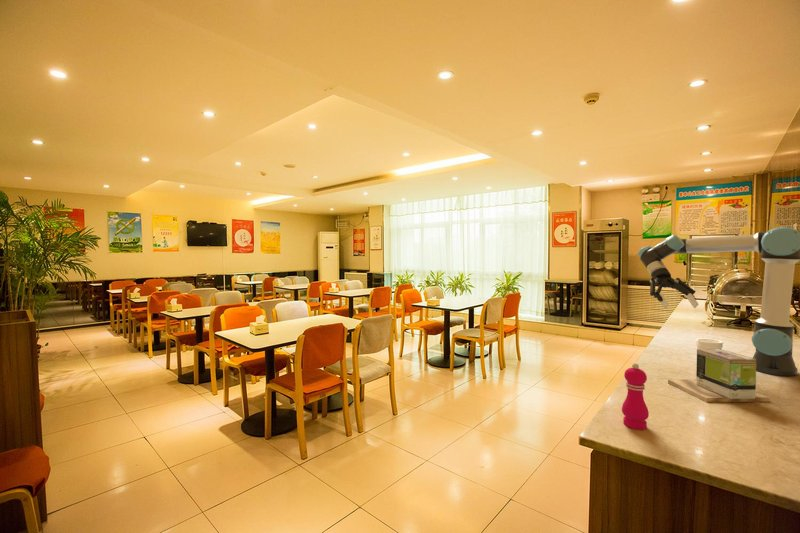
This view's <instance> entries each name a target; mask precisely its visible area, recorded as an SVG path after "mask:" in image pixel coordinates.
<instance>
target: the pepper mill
mask: <svg viewBox="0 0 800 533" xmlns="http://www.w3.org/2000/svg"><path fill="white" fill-rule="evenodd" d="M623 377H624V379H625V380H626V382H625V384H626V385H625V386H626V388H627V394H626V397H625V399H624V401H623V403H622V406H621V412H622V414H623V425H625V426H626V427H627V426H628V428H630V429H632V430H638V431H641V430H642V431H643V430H644V431H645V430H646V429H647V427H648V422H647V419H648V418H649V417H650V414H649V413H650V412H649V409H648V406H647V404H646V402H645V399H644V391H645V383H646V382H647V380H648V378H647V374H646V372H645V371H644V370H643V369H641V368H640V365H639V364H638V363H636V362H635V363H633V364H632V366H631V367H629V368H627V369H625V371H624V376H623Z"/></svg>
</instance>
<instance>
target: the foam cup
mask: <svg viewBox="0 0 800 533" xmlns="http://www.w3.org/2000/svg"><path fill="white" fill-rule="evenodd" d="M695 340H696V348H697V349H722V350H723V348H724V347H723V340H719V339H714V338H708V337H707V338H704V337H702V338H699V337H697V338H696V339H695ZM697 349H696V350H697Z"/></svg>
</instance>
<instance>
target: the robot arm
mask: <svg viewBox="0 0 800 533" xmlns="http://www.w3.org/2000/svg"><path fill="white" fill-rule="evenodd" d="M728 252H729V253H731V252H732V253H734V252H757V253H758V254H760V255H761V256H760V260H762V261H763V262H764V263H765V264H764V273H763V282H762V283H763V285H762V292H761V293H762V294H761V295H762V296H761V304H760V305H761V306H760V315H759V317H758V318H757V319H755V320H754V326H753V327H754V328H753V335H752V336H751V342H752V345H753V346H754V348H755V352H754V354H753V357H752V358H754V359H756V372H760V373H764V374H768V375H776V376H783V377H796V376H798V373H799V370H798V367H797V366H796V362H795V361H794V358H793V349H794V348H793V345H794V344H793V342H794V340H793V339H794V330H795V329H794V326H795V324H793V323H792V322H790V315H791V314H790V312H791V307H792V306H791V304H792V303H791V302H792V294H793V286H794V285H793V284H794V276H795V268H796V267H795V266H796V264H797V263H799V262H800V231H799V230H797V229H795V228H793V227H789V226H781V227H780V226H779V227H773V228H772V229H769V230H768V231H758V232H755V234H746V235H745V234H744V235H730V236H729V235H728V236H726V235H725V236H712V237H710V236H708V237H694V238H680V237H679V236H678V235H677V234H672V235H670V236H668V237H666V238H665V239H664V240H662V241H660V242H659V243H657V244H656V245H654V246H649V245H647V246H644V247H641V248H640V249H639V250H638V253H637V255H638V257H639V260H640V261H641V263H642V264H643V266H644V267H645V269H646V270H647V273H649V275H650V277H651V278H650V280H649V281H648V282H649V285H650V287H649V296H651V297H653V298H655V299H657V301H658V302H660V303H661V305H662V307H663V308H664V309H667V308H668V307H669V306H670V304H669V302H668V301H667V299H666V297H665V296H664V294H663V293H661V291H662V289H663V288H664V289H667V288H668V289H669V288H670V289H673V290H676V291H678V292H680V293H681V294H684V295H685V296H686V299H687V300H688V301H689V303H690V305H691V306H692V308H694V309H696V308H697V307H698V306H699V302H698V301H697V298H696V297H695V295H694V294H695V293H696V290H694V289H693V288H692V287H691V286H690V285H688V284H686V283H685V282H684V281H682V279H680V278H679V277H676V278H673V277H672V274H671V273H670V271H669V269H668V268H667V267H666V264H664V262H663V260H664V259H666V258H668V257H669V256H670V255H675V254H676V255H678V254H680V255H681V254H701V253H702V254H706V253H728ZM656 284H657V285H658V286H657V288H656Z"/></svg>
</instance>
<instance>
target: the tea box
mask: <svg viewBox="0 0 800 533" xmlns="http://www.w3.org/2000/svg"><path fill="white" fill-rule="evenodd" d="M695 371H696V378H695V379H696V384H697V385H699V386H701V387H704V388H706V389H709V390H711V391H713V392H716V393H718V394H720V395H723V396H725V397H727V398H729V399H755V394H756V392H757V391H756V390H757V389H756V388H757V371H756V359H754V358H753V357H751V356H747V355H743V354H739V353H737V352H732V351H730V350H729V351H728V350H725V349H723V348H722V349H696V370H695Z"/></svg>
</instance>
